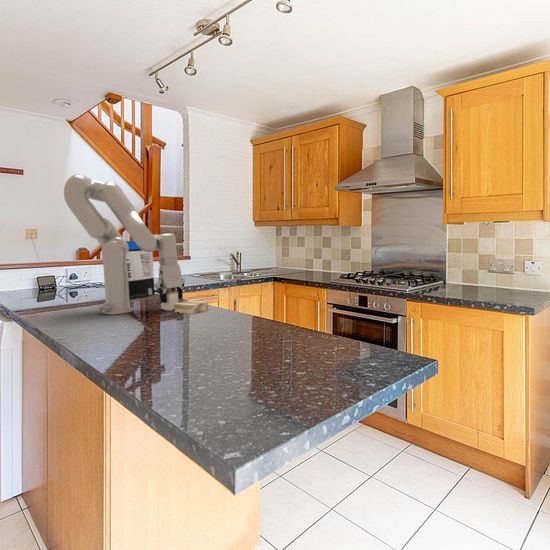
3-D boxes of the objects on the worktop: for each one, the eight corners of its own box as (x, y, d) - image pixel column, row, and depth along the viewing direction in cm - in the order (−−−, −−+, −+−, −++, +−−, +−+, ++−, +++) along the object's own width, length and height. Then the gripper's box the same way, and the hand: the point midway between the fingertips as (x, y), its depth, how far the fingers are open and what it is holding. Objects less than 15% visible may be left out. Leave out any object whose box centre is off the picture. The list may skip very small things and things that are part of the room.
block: (192, 315, 169) (191, 305, 169) (174, 313, 174) (174, 303, 174) (208, 311, 177) (208, 301, 177) (191, 309, 183) (190, 300, 182)
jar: (170, 310, 179) (169, 292, 178) (161, 309, 181) (160, 292, 181) (178, 308, 183) (178, 291, 182) (170, 307, 186) (169, 290, 185)
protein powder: (160, 294, 229) (157, 240, 226) (123, 301, 208) (120, 241, 205) (148, 293, 234) (146, 240, 231) (111, 299, 213) (108, 241, 210)
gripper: (159, 263, 171) (163, 304, 173) (188, 260, 186) (191, 297, 188) (147, 264, 175) (150, 303, 177) (176, 260, 190) (179, 297, 191)
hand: (172, 300), depth 182 cm, fingers open, 9 cm apart
